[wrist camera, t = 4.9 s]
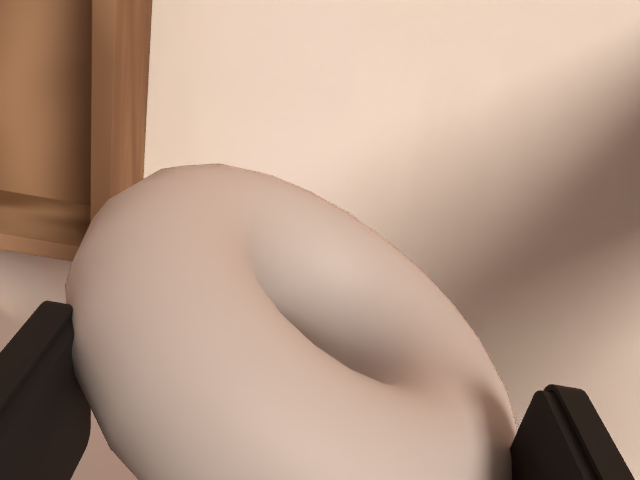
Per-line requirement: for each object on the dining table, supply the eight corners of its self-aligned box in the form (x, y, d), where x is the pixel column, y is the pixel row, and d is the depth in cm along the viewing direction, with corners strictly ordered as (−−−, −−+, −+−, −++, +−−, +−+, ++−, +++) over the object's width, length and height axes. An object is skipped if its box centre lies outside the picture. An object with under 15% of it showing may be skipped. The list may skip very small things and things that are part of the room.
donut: (489, 279, 17) (652, 633, 8) (417, 356, 19) (490, 732, 10) (193, 87, 15) (-21, 291, 6) (135, 190, 16) (-113, 483, 7)
